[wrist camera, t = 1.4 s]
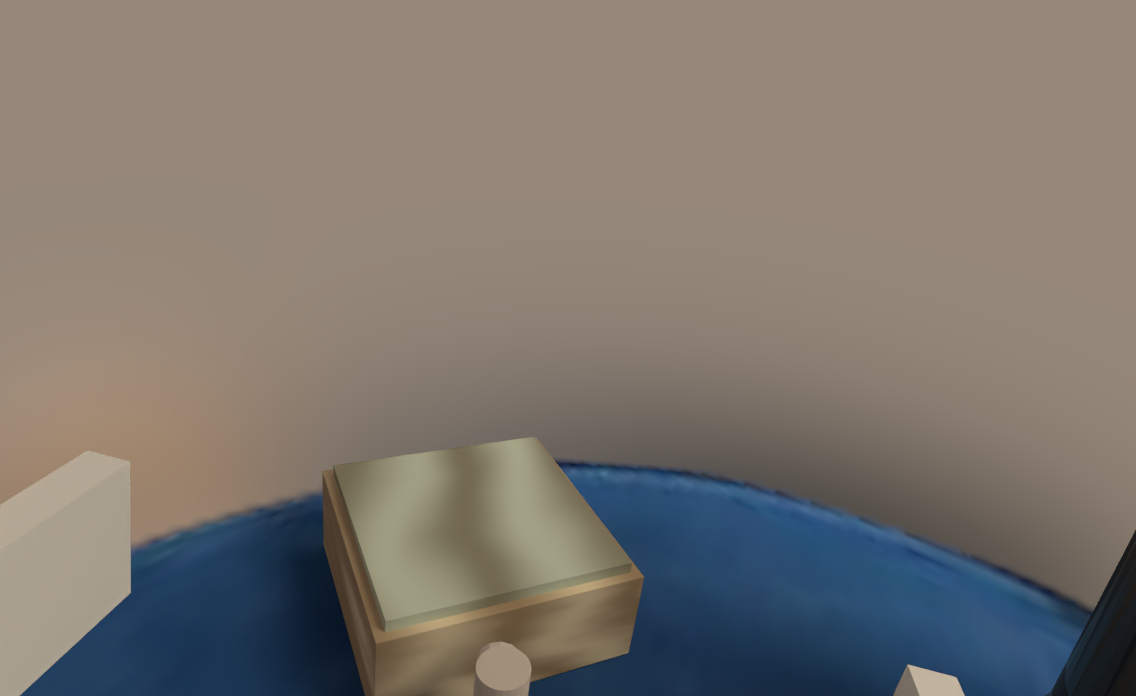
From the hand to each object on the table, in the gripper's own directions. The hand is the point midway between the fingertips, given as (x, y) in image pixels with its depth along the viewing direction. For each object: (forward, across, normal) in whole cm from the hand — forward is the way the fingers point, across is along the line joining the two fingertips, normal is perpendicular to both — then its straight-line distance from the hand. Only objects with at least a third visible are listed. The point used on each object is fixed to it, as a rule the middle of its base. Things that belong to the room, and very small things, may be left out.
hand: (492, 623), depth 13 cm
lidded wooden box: (+23, -4, -19) cm, 30 cm away
